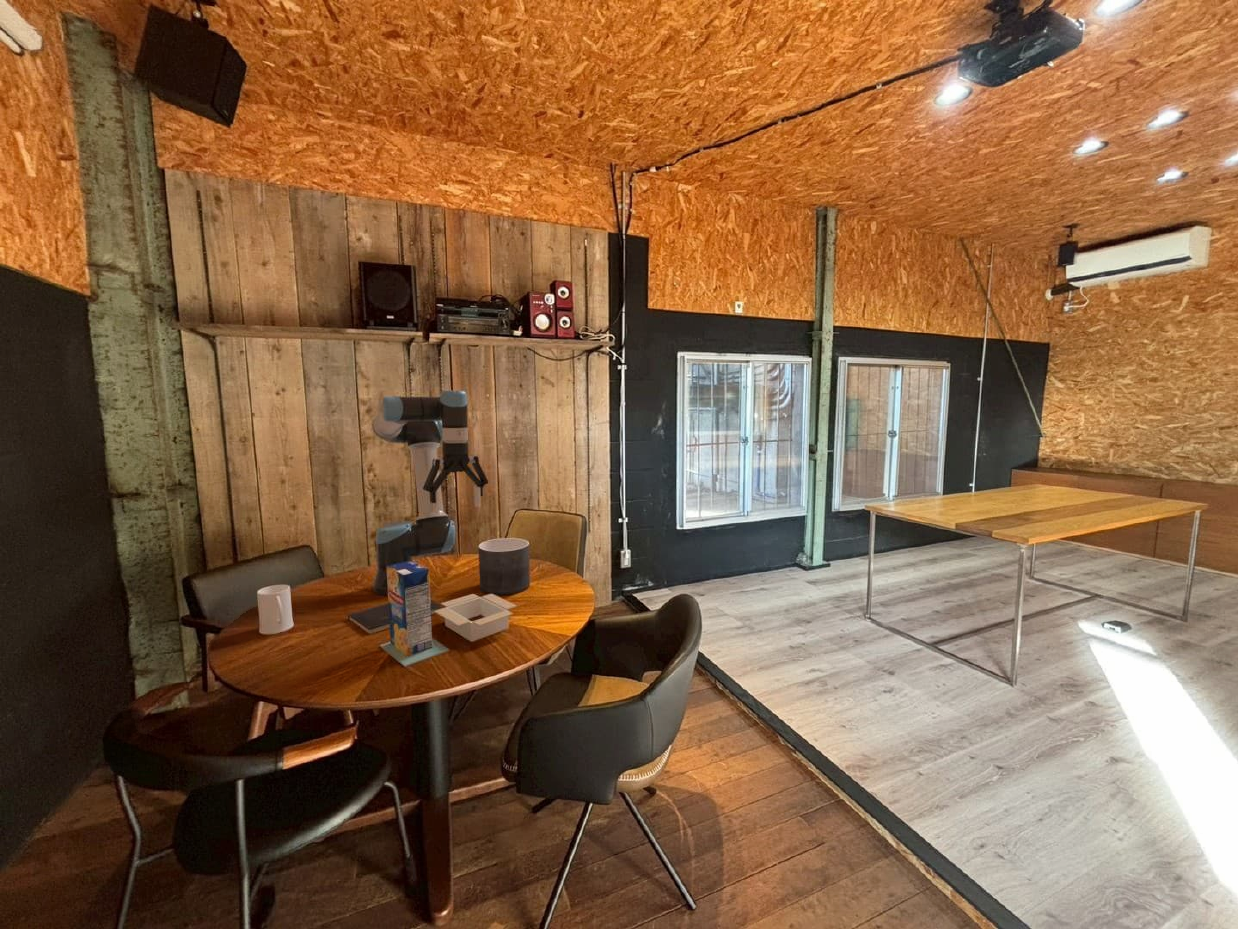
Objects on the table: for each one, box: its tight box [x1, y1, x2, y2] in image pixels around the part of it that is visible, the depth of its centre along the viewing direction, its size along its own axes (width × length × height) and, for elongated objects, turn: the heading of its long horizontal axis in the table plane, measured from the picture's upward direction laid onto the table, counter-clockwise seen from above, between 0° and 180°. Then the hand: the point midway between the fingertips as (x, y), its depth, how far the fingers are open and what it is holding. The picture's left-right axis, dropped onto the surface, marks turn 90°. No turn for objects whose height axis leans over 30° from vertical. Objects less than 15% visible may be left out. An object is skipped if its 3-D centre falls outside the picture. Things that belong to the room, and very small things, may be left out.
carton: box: [434, 593, 518, 643], centre depth 153 cm, size 22×19×6 cm
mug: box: [256, 584, 295, 635], centre depth 150 cm, size 12×8×12 cm
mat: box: [379, 637, 450, 668], centre depth 140 cm, size 16×12×1 cm
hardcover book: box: [347, 599, 444, 635], centre depth 162 cm, size 16×23×2 cm
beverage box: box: [386, 560, 433, 656], centre depth 139 cm, size 7×11×22 cm, turn 46°
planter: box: [478, 537, 531, 596], centre depth 186 cm, size 18×18×16 cm
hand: (457, 510), depth 159 cm, fingers open, 13 cm apart
